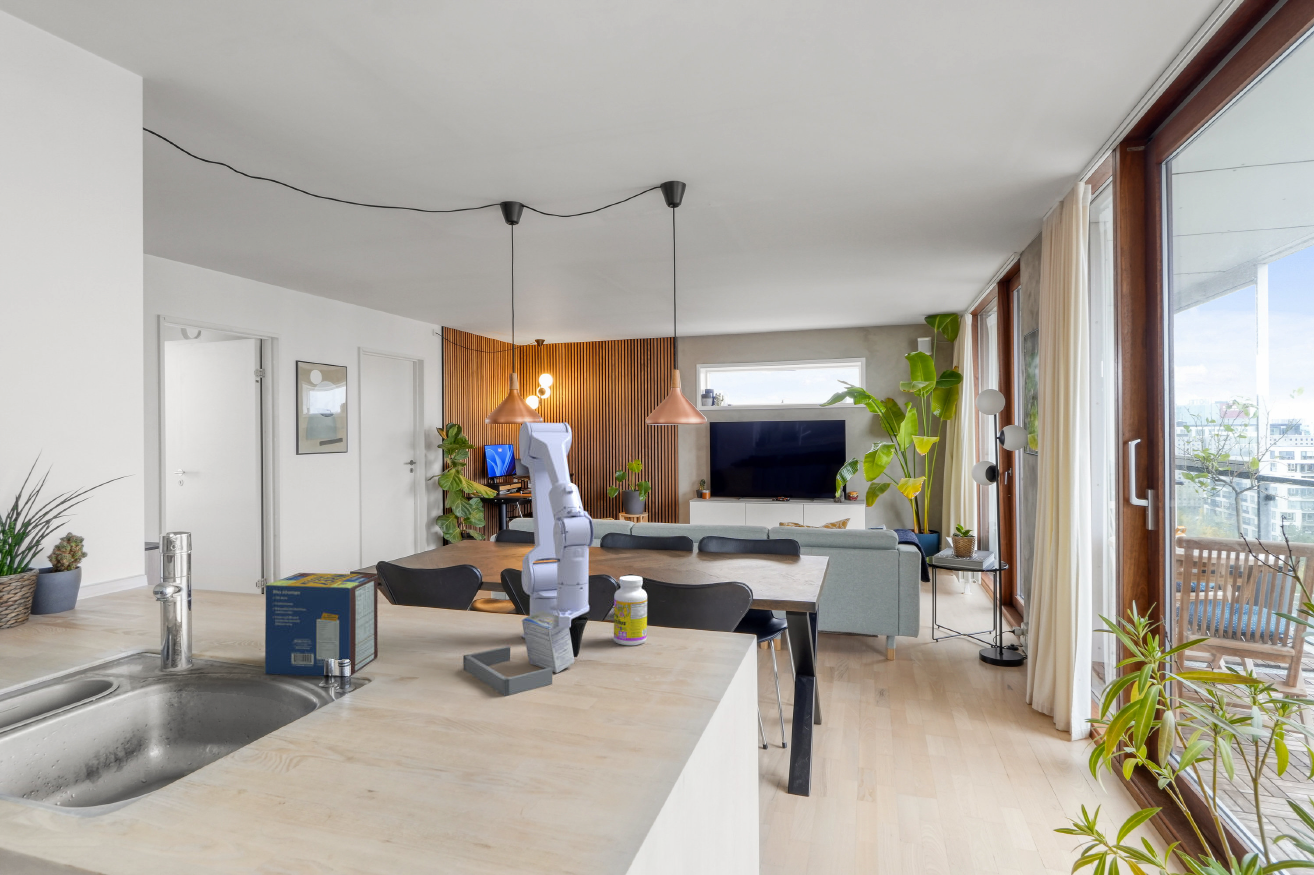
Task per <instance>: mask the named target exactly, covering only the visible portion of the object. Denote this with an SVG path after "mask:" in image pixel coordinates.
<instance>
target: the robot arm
mask: <svg viewBox="0 0 1314 875" xmlns="http://www.w3.org/2000/svg"><path fill="white" fill-rule="evenodd" d="M572 434H573V432H572V428H571V426H570V425H569V423H568V422H529V421H524V422H523V423H522V425H520V428H519V434H518V445H519V458H520V463H521V464H522V465H523V466H526V467H527V468H528V471H529V479H530V488H531V489H530V492H531V504H532V521H533V532H534V536H533V537H534V547H533V548H532V549H531V550H529V551H528V552H526V554H525V555H524V556H523V558H522V560H521V561H522V567H521V568H522V569H521V585H522V589H523V591H524V592H525V593H526V595H529V616H530V615H532V614H534V613H536V612H538V611H542V612H546V613H550V614H554V615H557V616H559V627H569V631H570V637H571V643H572V649H573V655H574V658H577V657H578V656H579V654H580V651H581V650H580V649H581V645H582V638H583V634H584V632H585V629H586V628H585V627H586V625H587V623H588V621H589V619H590V615H589V614H588V612H589V611H590V605H589V571H590V570H589V566H590V565H589V564H590V563H589V562H590V561H589V560H590V559H589V557H590V556H589V554H590V553H589V552H590V547H592V545H593V543H594V539H595V527H594V523H593V519H592V517H591V516H590V514H589V512H588V511H585V510H584V507H583V503H582V499H581V496H580V492H579V487H578V486H577V485H576V484H574V483H572V482H571V476H570V472H569V471H570V470H569V465H568V464H569V463H568V458H567V456H568V455H569V451H570V448H571V445H572V442H573V439H572V438H573V437H572V436H573V435H572ZM520 635H521V637H522V638H524V639H525V636H524V633H521V634H520Z"/></svg>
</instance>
